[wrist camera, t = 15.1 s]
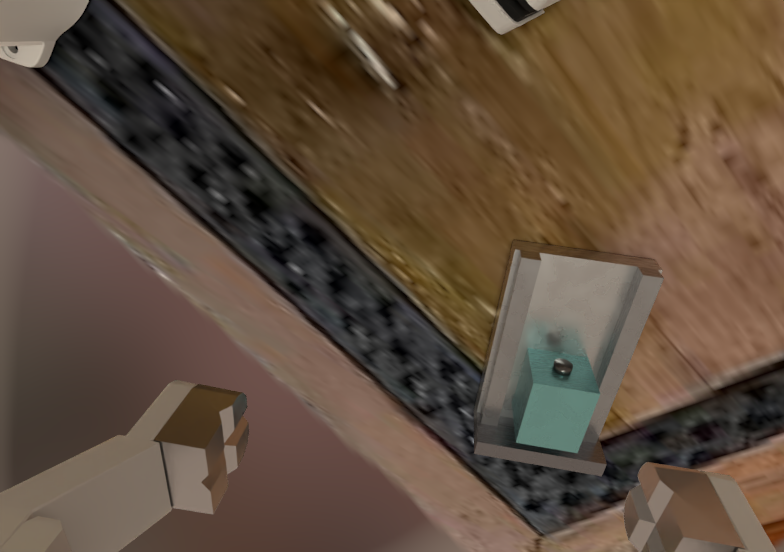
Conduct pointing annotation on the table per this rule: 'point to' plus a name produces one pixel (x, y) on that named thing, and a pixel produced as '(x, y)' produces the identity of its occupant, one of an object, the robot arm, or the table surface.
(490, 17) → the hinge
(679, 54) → the table surface
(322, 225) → the table surface
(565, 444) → the block
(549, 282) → the guide channel
